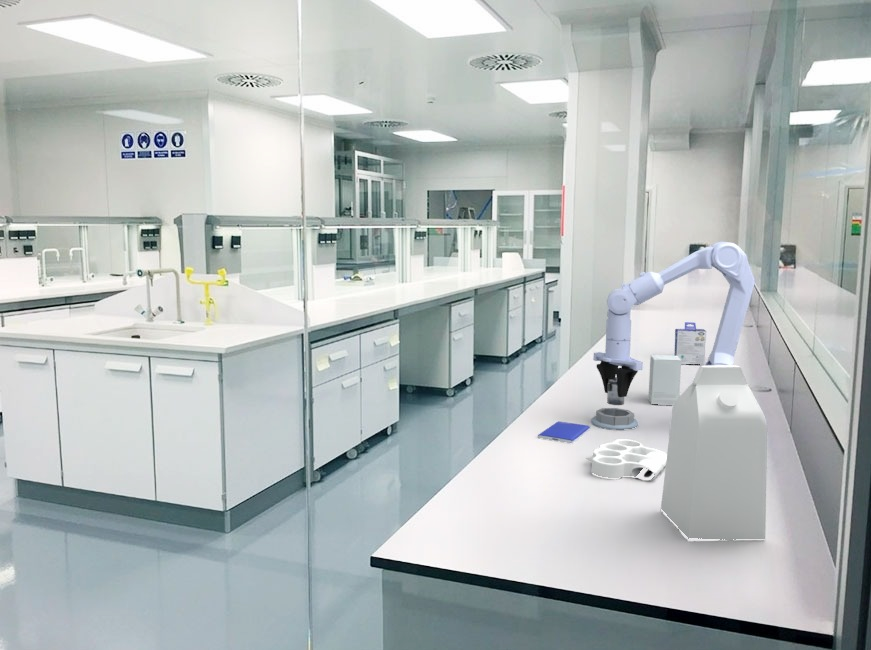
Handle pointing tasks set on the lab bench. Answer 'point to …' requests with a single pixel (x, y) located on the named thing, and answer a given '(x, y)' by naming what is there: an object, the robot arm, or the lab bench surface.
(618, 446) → the white holed flat tray
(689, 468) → the milk
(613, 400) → the silver metal canister
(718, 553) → the lab bench surface
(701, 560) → the lab bench surface
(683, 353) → the ink cartridge box
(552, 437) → the hard drive
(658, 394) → the supplement box
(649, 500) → the lab bench surface
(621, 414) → the collar
